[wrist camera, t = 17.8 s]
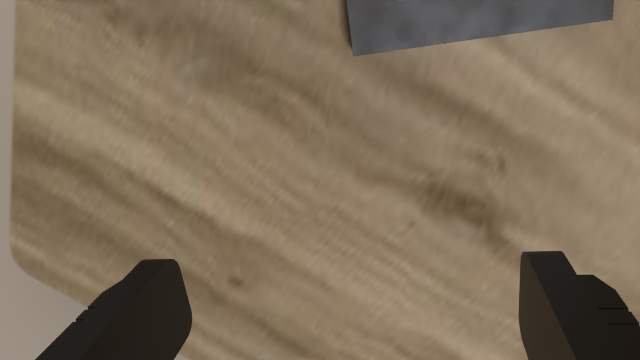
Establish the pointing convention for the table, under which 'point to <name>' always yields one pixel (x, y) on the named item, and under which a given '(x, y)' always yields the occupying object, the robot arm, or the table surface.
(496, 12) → the mounting plate
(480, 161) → the table surface
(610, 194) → the table surface
